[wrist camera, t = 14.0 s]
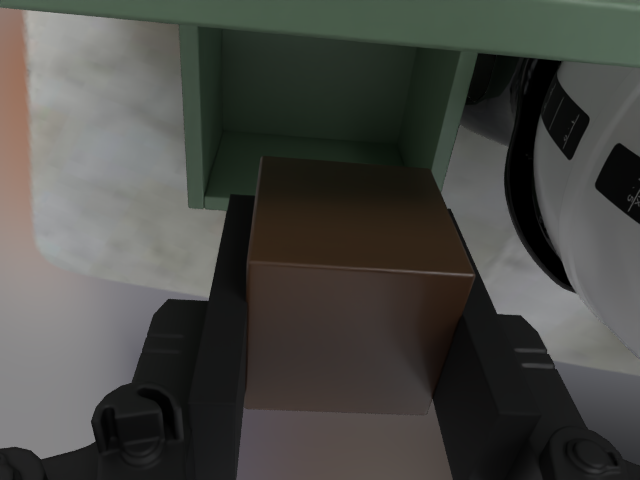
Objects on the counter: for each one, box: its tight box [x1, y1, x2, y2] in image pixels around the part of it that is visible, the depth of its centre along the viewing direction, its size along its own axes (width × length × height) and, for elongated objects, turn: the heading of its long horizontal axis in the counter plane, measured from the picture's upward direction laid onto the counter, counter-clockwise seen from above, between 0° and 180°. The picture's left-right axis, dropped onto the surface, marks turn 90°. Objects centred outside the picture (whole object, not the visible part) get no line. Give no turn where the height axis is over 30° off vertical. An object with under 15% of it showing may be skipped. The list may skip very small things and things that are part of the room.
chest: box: [179, 25, 478, 211], centre depth 26 cm, size 15×13×9 cm
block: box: [244, 156, 475, 415], centre depth 13 cm, size 4×4×4 cm
